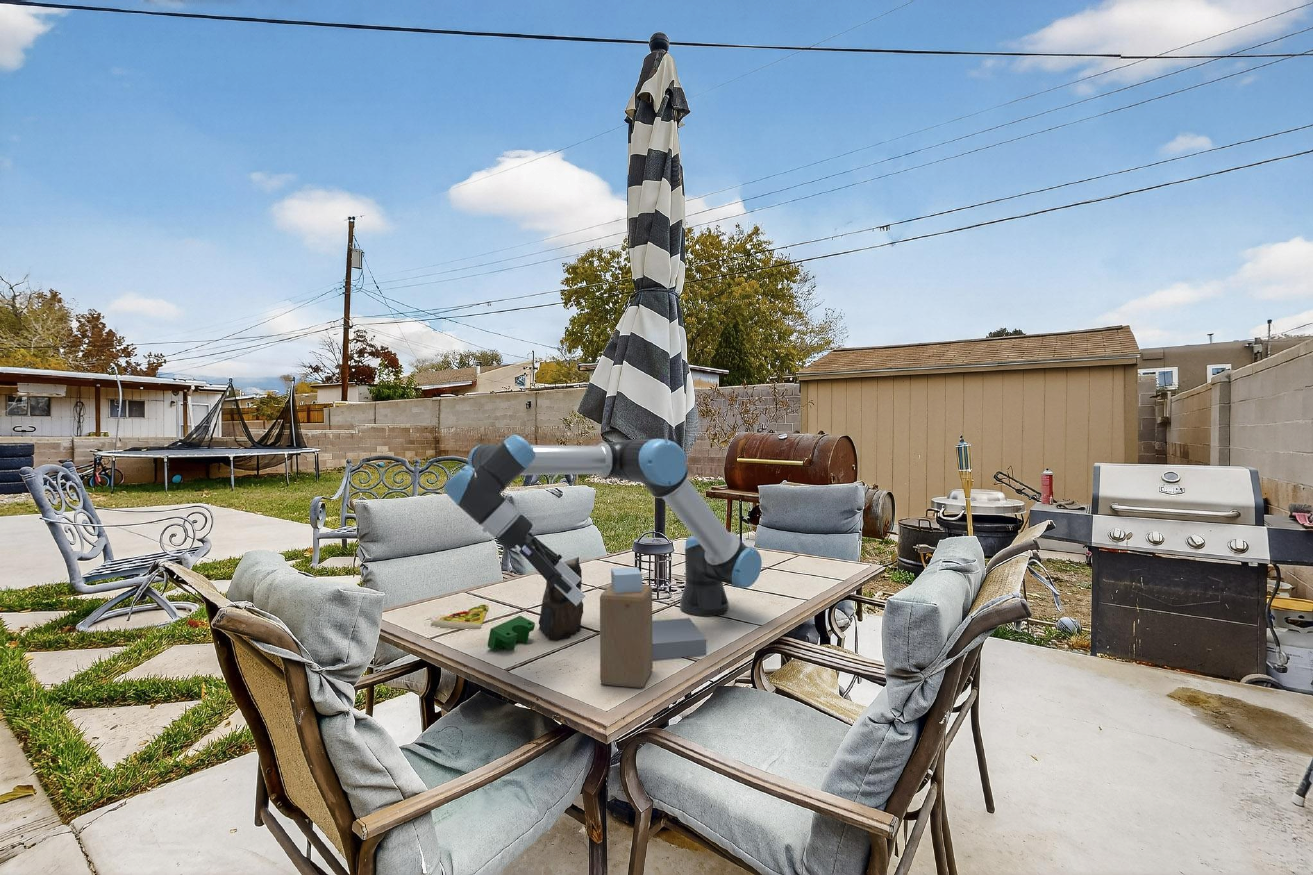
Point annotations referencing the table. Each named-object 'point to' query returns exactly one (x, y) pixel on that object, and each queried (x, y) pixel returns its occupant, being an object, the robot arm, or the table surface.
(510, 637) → the clamp
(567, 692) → the table surface
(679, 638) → the dock
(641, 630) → the wooden block
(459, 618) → the pizza slice
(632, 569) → the box
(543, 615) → the owl
